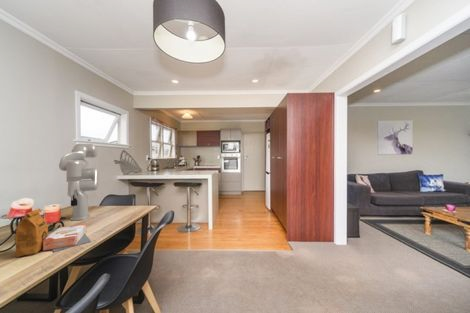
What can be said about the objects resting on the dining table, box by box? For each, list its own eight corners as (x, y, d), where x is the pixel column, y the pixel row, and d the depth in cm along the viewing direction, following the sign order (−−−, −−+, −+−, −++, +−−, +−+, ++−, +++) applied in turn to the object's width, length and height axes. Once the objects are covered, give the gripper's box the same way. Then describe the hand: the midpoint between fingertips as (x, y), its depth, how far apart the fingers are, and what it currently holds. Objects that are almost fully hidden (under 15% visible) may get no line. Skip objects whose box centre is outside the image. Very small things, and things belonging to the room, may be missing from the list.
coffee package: (52, 244, 105) (52, 207, 105) (36, 255, 93) (36, 213, 93) (29, 247, 102) (30, 208, 102) (10, 259, 90) (11, 215, 90)
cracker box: (86, 222, 122) (75, 235, 103) (86, 231, 122) (75, 245, 103) (58, 226, 116) (42, 240, 97) (59, 235, 116) (42, 251, 97)
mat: (49, 242, 108) (49, 241, 108) (84, 233, 120) (84, 232, 120) (53, 252, 96) (53, 251, 96) (90, 241, 109) (90, 240, 109)
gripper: (64, 178, 124) (64, 204, 125) (68, 181, 115) (68, 209, 115) (78, 177, 130) (78, 202, 131) (83, 179, 121) (83, 206, 121)
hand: (74, 205), depth 123 cm, fingers closed
